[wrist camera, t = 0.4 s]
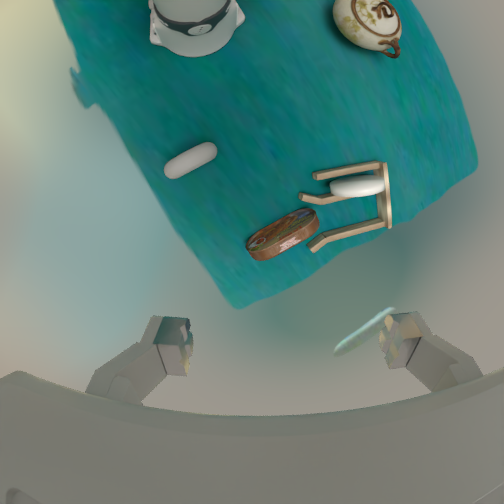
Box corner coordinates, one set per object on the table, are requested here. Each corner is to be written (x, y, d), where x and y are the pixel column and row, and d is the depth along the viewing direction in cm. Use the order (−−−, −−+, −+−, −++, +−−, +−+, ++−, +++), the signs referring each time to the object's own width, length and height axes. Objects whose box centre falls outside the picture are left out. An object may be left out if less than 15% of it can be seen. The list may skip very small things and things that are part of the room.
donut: (212, 138, 49) (210, 137, 40) (220, 154, 50) (220, 157, 41) (166, 163, 50) (154, 168, 40) (174, 178, 51) (164, 186, 42)
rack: (293, 176, 54) (299, 179, 49) (375, 160, 54) (386, 162, 50) (307, 249, 60) (313, 257, 56) (382, 228, 60) (392, 234, 56)
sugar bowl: (398, 59, 45) (439, 47, 31) (349, 73, 46) (387, 57, 32) (358, -9, 37) (389, -34, 23) (305, -1, 38) (329, -33, 24)
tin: (307, 203, 56) (321, 214, 48) (313, 216, 57) (327, 229, 50) (243, 239, 57) (247, 255, 50) (250, 251, 59) (255, 268, 51)
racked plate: (321, 181, 55) (343, 191, 44) (367, 172, 55) (395, 181, 45) (322, 189, 55) (345, 200, 45) (368, 179, 55) (396, 189, 45)
